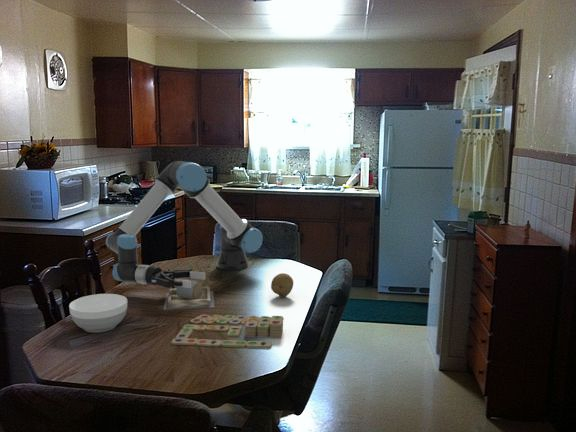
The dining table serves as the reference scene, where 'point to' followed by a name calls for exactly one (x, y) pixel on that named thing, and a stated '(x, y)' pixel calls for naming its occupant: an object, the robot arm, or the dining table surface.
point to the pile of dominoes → (233, 330)
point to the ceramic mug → (190, 291)
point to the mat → (190, 307)
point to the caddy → (182, 302)
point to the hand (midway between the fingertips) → (198, 280)
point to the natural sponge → (282, 284)
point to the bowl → (98, 311)
